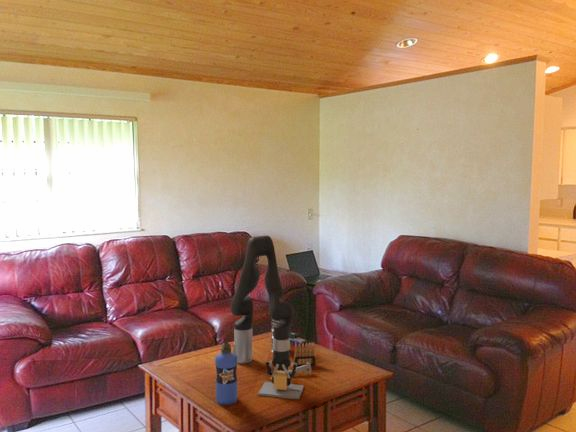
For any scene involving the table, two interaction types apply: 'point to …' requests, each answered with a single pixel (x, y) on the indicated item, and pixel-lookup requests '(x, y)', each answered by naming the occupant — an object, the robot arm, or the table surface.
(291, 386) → the post board
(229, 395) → the water bottle
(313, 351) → the ammunition clip
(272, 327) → the decorative candle
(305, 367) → the caliper
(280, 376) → the mustard yellow cube
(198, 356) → the table surface
